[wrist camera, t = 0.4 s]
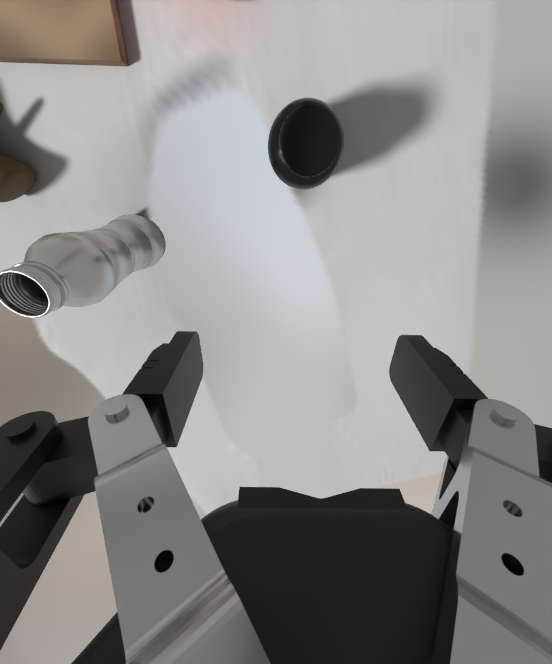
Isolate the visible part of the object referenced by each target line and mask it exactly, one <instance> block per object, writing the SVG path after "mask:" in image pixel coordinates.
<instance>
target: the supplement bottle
mask: <svg viewBox="0 0 552 664" xmlns="http://www.w3.org/2000/svg"><path fill="white" fill-rule="evenodd" d="M343 146H344V136H343V130H342V126H341V123H340V120H339V118H338V116H337V115H336V113H335V112H334V110H333V109H332V108H331V107H330V106H329V105H327V104H326V103H324V102H323V101H321V100H318V99H314V98H302V99H298V100H295V101H293V102H291V103H290V104H288V105H287V106H286V107H284V108H283V109H282V110H281V112H280V113H279V114H278V115H277V117H276V119H275V120H274V122H273V125H272V127H271V130H270V134H269V140H268V153H269V159H270V162H271V165H272V167H273V169H274V171H275V173H276V174H277V176H278V177H279V178H280V179H281V180H282V181H283V182H284V183H286V184H287V185H289V186H291V187H293V188H297V189H310V188H314V187H317V186H319V185H321V184H322V183H324V182H325V181H326V180H327V179H328V178H330V176H331V175H332V174H333V173H334V171H335V170H336V168H337V166H338V164H339V162H340V160H341V156H342V152H343Z"/></svg>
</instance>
